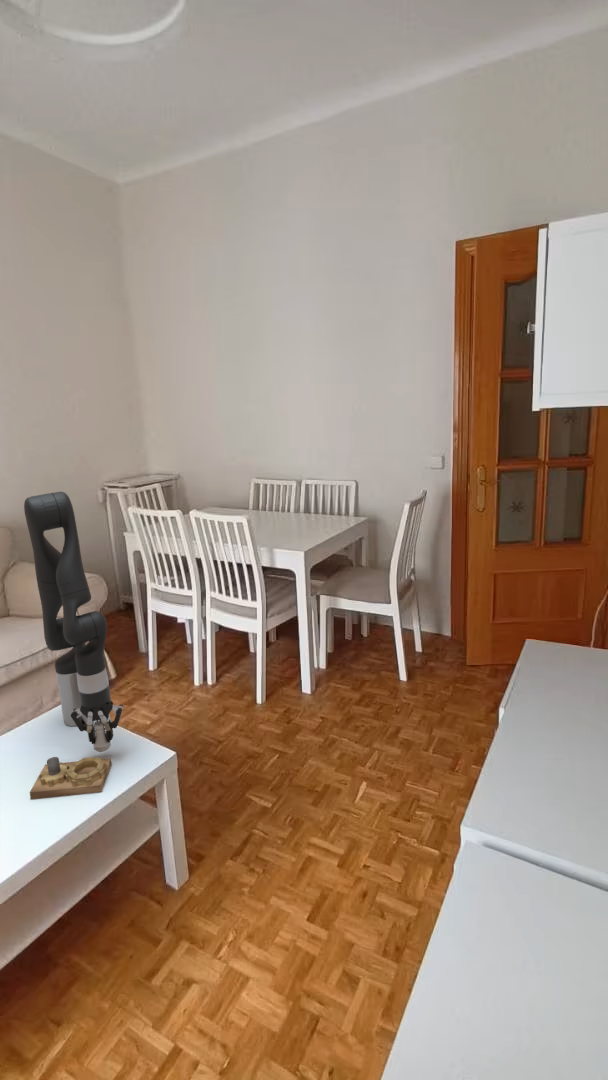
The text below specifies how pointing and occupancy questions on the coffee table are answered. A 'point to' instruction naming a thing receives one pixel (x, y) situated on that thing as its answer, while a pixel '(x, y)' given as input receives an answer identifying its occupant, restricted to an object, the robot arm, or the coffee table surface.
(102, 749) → the rook chess piece
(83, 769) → the gear board
